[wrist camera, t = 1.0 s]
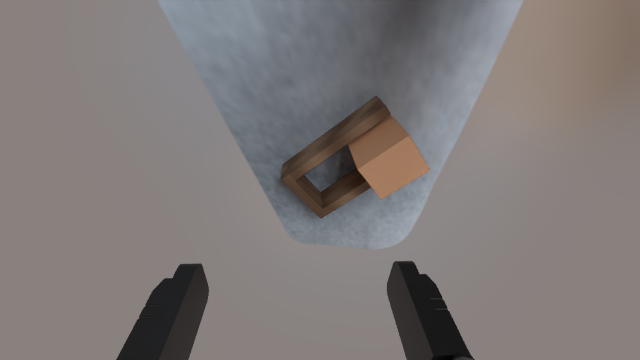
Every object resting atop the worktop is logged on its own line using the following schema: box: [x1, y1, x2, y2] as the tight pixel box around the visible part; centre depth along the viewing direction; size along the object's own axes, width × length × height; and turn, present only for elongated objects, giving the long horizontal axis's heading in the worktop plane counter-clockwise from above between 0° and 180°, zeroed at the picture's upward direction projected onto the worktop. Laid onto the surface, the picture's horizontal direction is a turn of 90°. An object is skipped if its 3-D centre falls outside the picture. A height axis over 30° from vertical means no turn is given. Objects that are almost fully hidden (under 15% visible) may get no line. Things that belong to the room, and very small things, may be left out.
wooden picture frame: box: [281, 96, 391, 218], centre depth 34 cm, size 15×8×4 cm, turn 127°
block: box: [348, 115, 430, 199], centre depth 31 cm, size 6×5×9 cm
